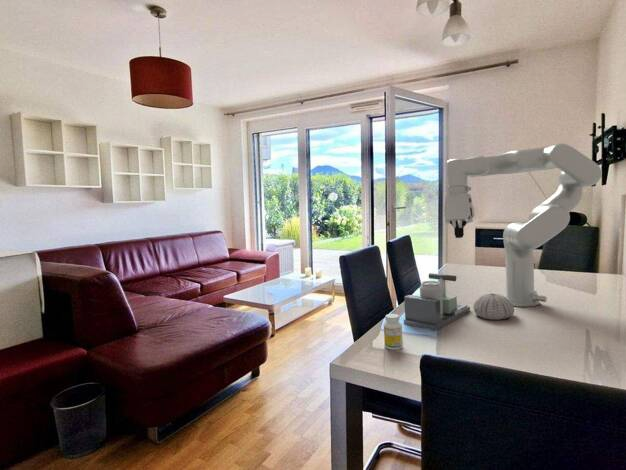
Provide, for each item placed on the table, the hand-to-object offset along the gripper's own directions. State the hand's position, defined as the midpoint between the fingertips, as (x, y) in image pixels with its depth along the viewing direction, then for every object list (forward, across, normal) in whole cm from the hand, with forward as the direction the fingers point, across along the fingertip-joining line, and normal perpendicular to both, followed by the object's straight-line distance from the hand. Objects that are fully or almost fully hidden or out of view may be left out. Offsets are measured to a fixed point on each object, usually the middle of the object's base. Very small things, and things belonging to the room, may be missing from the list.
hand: (459, 237), depth 145 cm
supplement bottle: (+27, -3, +51) cm, 58 cm away
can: (+26, 0, +23) cm, 34 cm away
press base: (+27, 0, +19) cm, 33 cm away
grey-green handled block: (+25, 0, +16) cm, 30 cm away
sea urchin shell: (+28, -15, +7) cm, 32 cm away
